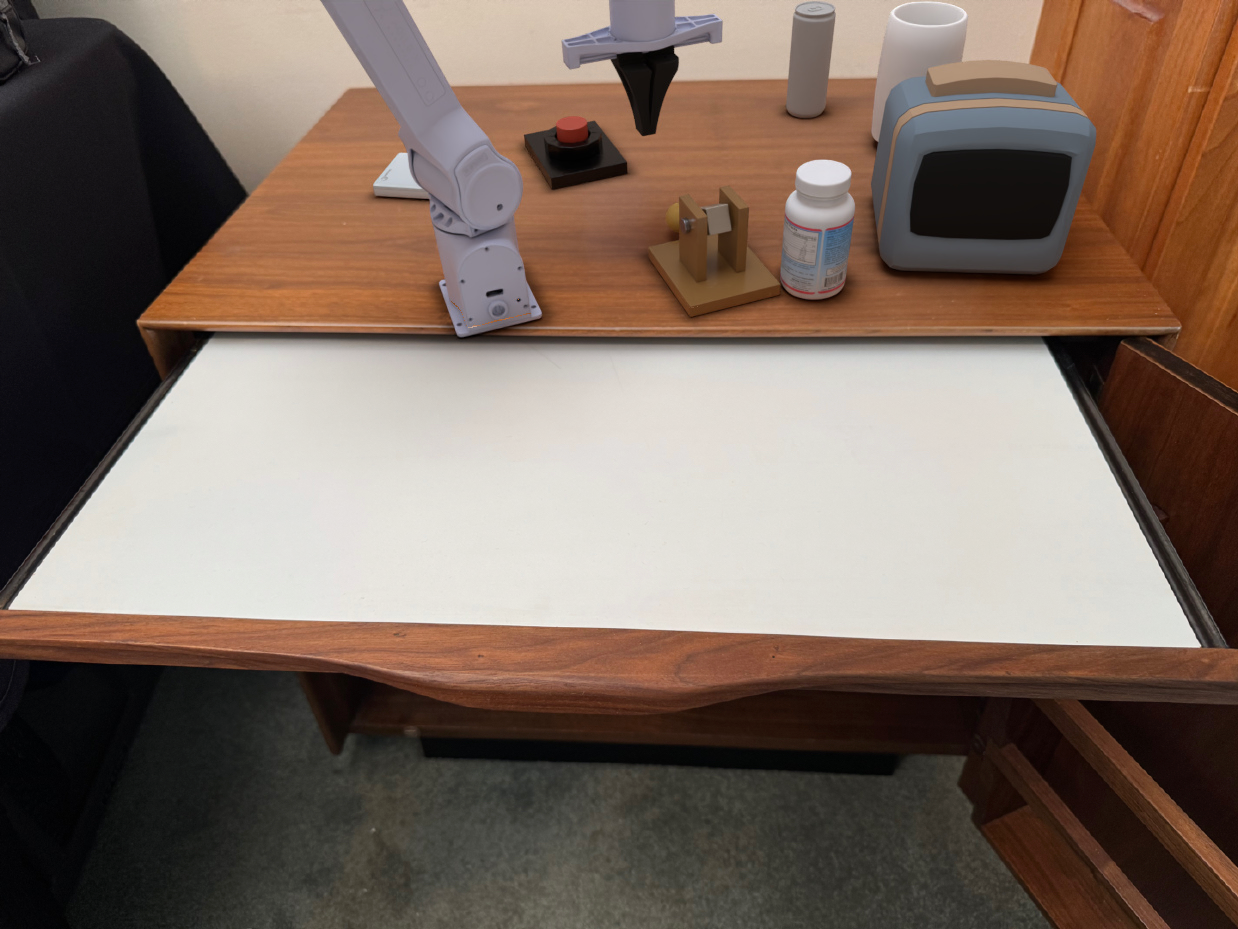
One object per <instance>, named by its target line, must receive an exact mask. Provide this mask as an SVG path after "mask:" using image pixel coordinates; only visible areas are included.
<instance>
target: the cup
mask: <svg viewBox="0 0 1238 929" xmlns="http://www.w3.org/2000/svg"><path fill="white" fill-rule="evenodd" d="M968 23H969V15H968V13H967V11H966V10H964V9H963V8H962V7H959V6H957V5H955V4H951V3H948V2H941V1H929V0H928V1H925V0H924V1H923V0H922V1H921V0H920V1H912V2H911V1H909V2H906V3H903V4H899V5H898V6H896V7H895V8H893V9H892V10H891V11H890V13H889V14H888V19H887V23H886V26H885V28H886V29H885V32H884V35H883V41H882V45H881V51H880V55H879V61H878V67H877V68H878V69H877V74H876V82H875V90H874V98H873V106H872V116H871V118H872V119H871V131H870V133H871V136H872V138H873V139H874V140H875V141H876V142H877V143H878V142H879V136H880V130H881V125H882V119H883V114H884V108H885V103H886V100H887V98H888V96H889V94H890V91H891V89H892V88H894V87H895V86H896V85H897V84H899V83H900V82H901V81H904V80H907V79H909V78H913V77H922V76H926V75H927V69H928V68H931V67H935V66H940V65H945V64H950V63H957V62H963V56H964V51H965V46H966V40H967V31H968Z"/></svg>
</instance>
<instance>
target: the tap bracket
mask: <svg viewBox="0 0 1238 929" xmlns="http://www.w3.org/2000/svg"><path fill="white" fill-rule="evenodd" d="M718 192H719V193H718V204H728V208H729V215H730V222H731V229H732V230H731V231H728V232H724V233H719V234H715V235H711V236H709V235H707V222H708V216H707V215H706V214H705V213H704V212H703V210H702V209H701V208H700V207H701V206H700V205H699V204H698V203H697V202H696V201H695V200H694V198H693V197H692V196H691V195H690V194H683V195H678V202H679V233H678V240H677V239H676V240H673V241H668V242H664V243H660V244H656V245H651V246H648V247H647V257H648V259H649V261H650V262H651V263H652V265H653V266H654V267H655V270H657V272H658V273H659V275H660V276H661V277H662V279H663V281H664V282H665V283H666V285H667V286H668V287H669V289H670V291H671V292H672V294H673V295H674V296H675V298H676V299H677V300H678V302H679V303H680V305H681V307H682V308H683V309H684V311H685V312H686V313H687V315H688V316H689V318H693V317H697V316H700V315H706V314H709V313H713V312H717V311H721V310H725V309H729V308H732V307H737V306H741V305H745V304H750V303H753V302H756V301H760V300H761V301H762V300H765V299H769V298H773V297H777V296H780V294H781V286H782V284H781V282H779V280H778V279H777V278H776V277H775V276H774V275H773V274H772V272H771V271H770V270H769V269H768V267H766V265H765V264H764V263H763V262H762V261H761V260H760V258H759V257H758V256H757V255H756V254H755V252H754V251H753V250H752V249H751V248H750V247H749V246H748V234H749V233H748V232H749V217H750V216H749V215H750V206H749V205H748V204H747V203H746V202H745V200H743V199H742V197H741V196H740V195H739V194H738V192H736V191H735V190H734V189H733V188H732V187H731V186H730V185H724V186H720V187H719V190H718ZM682 297H683V298H682ZM685 301H686V302H685ZM687 304H688V305H687ZM697 306H698V307H697ZM689 307H690V308H689ZM691 307H694V308H691Z"/></svg>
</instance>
